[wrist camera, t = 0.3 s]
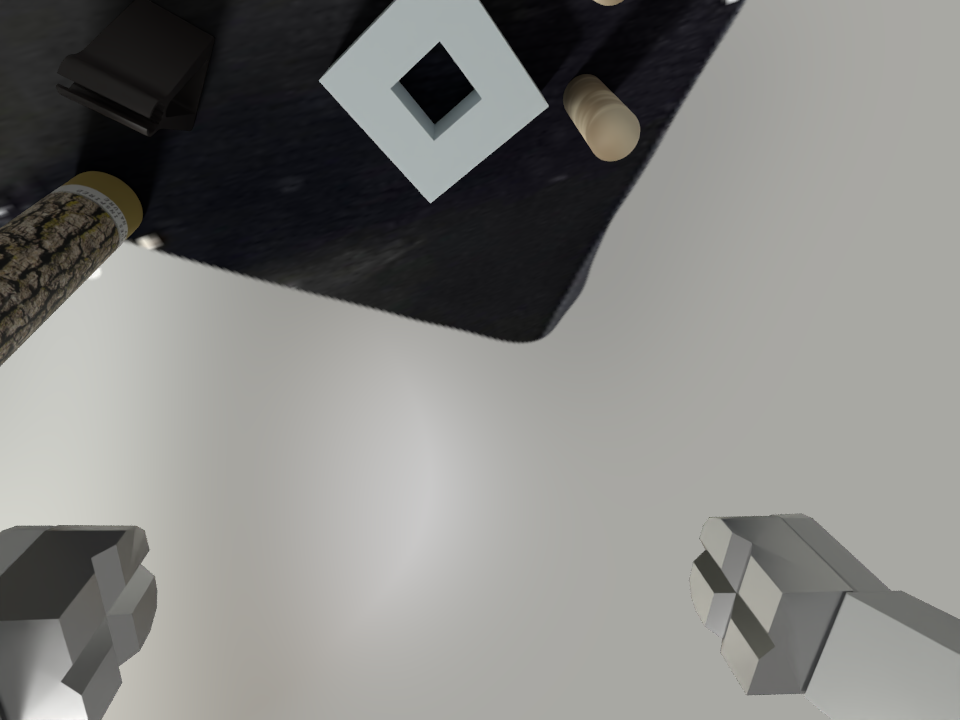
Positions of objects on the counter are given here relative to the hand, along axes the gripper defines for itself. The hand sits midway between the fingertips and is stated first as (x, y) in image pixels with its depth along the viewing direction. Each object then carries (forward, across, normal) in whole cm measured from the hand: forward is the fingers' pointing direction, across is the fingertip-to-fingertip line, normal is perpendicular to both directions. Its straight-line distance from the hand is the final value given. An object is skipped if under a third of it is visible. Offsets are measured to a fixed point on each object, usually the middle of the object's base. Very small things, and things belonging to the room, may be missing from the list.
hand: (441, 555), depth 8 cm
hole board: (+50, -1, -12) cm, 51 cm away
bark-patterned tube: (+55, +32, +2) cm, 64 cm away
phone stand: (+51, +23, -11) cm, 57 cm away
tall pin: (+49, -15, -11) cm, 53 cm away
